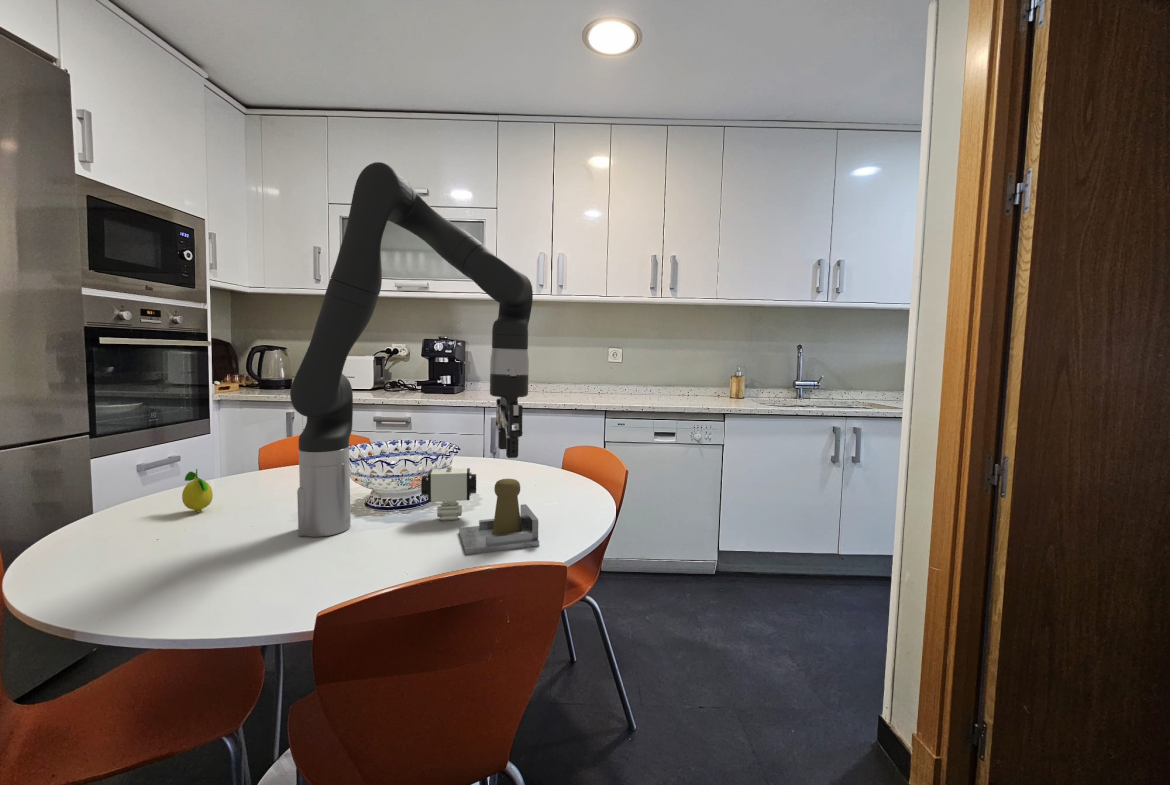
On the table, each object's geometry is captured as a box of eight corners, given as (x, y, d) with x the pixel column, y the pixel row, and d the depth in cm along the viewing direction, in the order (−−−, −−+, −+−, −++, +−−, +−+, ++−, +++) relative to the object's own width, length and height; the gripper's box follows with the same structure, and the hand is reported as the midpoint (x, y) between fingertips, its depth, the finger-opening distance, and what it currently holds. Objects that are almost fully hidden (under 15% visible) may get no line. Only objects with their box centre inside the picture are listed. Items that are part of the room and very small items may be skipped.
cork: (527, 530, 103) (527, 477, 102) (513, 540, 97) (514, 484, 96) (501, 526, 104) (501, 474, 104) (486, 536, 99) (486, 481, 98)
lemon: (185, 509, 115) (184, 466, 114) (216, 506, 117) (215, 464, 117) (176, 518, 109) (174, 473, 108) (209, 514, 111) (207, 471, 111)
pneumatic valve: (476, 520, 111) (476, 467, 110) (421, 523, 108) (420, 469, 107) (476, 512, 116) (476, 462, 115) (424, 515, 114) (423, 463, 113)
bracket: (465, 554, 92) (465, 528, 92) (459, 532, 103) (459, 509, 103) (539, 546, 97) (539, 520, 96) (524, 525, 108) (525, 503, 108)
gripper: (484, 370, 103) (483, 447, 105) (496, 373, 90) (495, 461, 91) (520, 371, 106) (518, 446, 107) (536, 374, 93) (534, 459, 94)
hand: (507, 453), depth 99 cm, fingers open, 8 cm apart
